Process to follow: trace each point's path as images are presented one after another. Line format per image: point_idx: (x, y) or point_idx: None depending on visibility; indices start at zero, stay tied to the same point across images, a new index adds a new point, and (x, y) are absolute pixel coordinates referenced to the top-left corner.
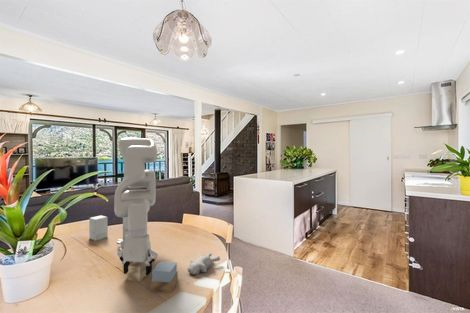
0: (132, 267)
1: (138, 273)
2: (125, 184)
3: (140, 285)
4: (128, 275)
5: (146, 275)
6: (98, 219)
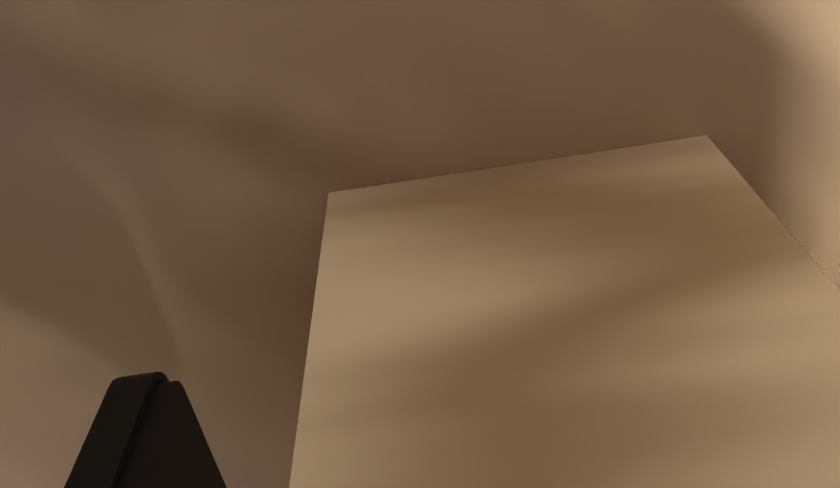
0: (720, 485)
1: (367, 337)
2: None
3: (134, 23)
4: (769, 213)
5: (142, 376)
6: None
